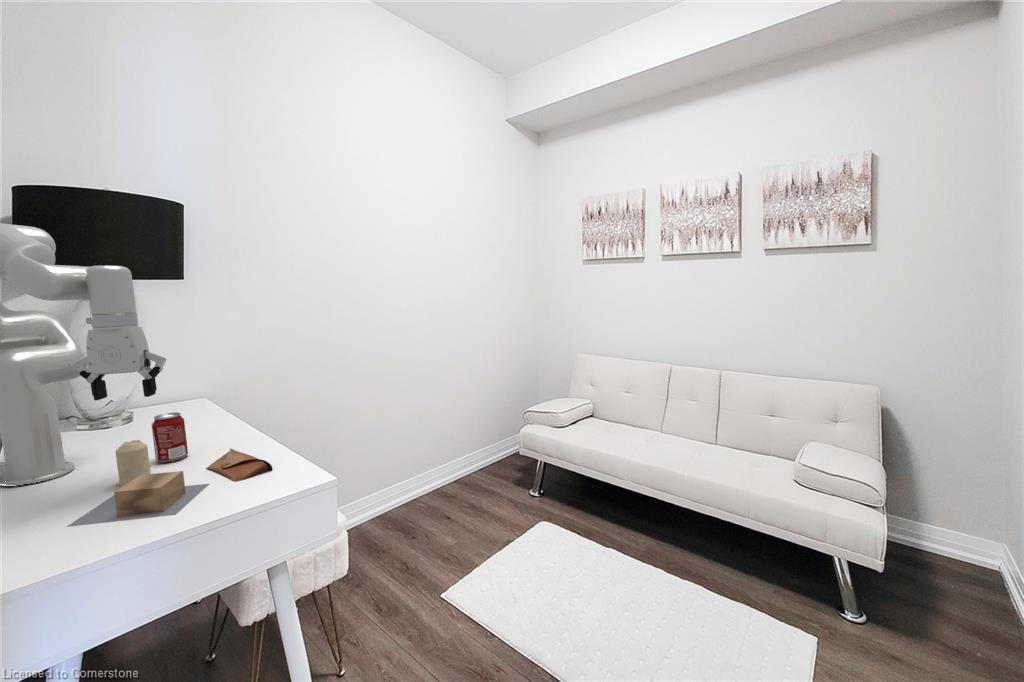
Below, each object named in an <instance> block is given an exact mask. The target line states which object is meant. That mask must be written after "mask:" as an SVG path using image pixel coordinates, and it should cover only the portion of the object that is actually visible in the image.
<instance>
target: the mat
mask: <svg viewBox="0 0 1024 682" xmlns="http://www.w3.org/2000/svg"><path fill="white" fill-rule="evenodd" d="M209 485H210V483H202V484H201V483H200V484H194V485H193V484H192V485H185V492H186V493H185V494H184V495H183V496H182V497H180V498H179V499H178V500H177V501H176V502H175V503H173V504H172V505H171V506H170V507H169V508H167V509H166V510H165V511H163V512H153V513H144V514H135V515H126V516H117V510H116V503H115V495H112V496H110V497H109V498H108V499H106V500H105V501H103V502H101V503H100V504H99V505H97V506H96V507H94V508H92V509H91V510H89V511H88V512H86V513H85V514H84V515H82V516H80V517H79V518H77V519H76V520H75V521H73V522H71V523H70V524H68V525H66V527H77V526H85V525H95V524H96V525H97V524H103V523H104V524H105V523H113V522H120V521H121V522H122V521H123V522H124V521H131V520H133V521H134V520H141V519H149V518H158V517H166V516H168V517H169V516H176V515H177V514H178V513H179V512H181V511H182V510H183V509H184V508H185V507H187V505H188V504H190V502H192V501H193V500H194V499H195V498H196V497H197V496H198V495H200V493H202V491H204V490H205V489H206V488H207V487H208V486H209Z"/></svg>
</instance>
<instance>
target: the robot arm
mask: <svg viewBox="0 0 1024 682" xmlns="http://www.w3.org/2000/svg"><path fill="white" fill-rule="evenodd" d="M55 242H56V241H55V240H54V238H53V237H52V236H51V235H50V234H49V233H48V232H47V231H46V230H44V229H42V228H38V227H36V226H29V225H20V224H19V225H18V224H9V223H2V222H0V279H7V281H8V283H10V285H11V286H12V287H13V288H15V289H16V290H18V291H20V292H22V293H24V294H26V295H28V296H30V297H33V298H35V299H39V300H43V301H49V302H51V301H52V302H53V301H55V302H58V301H59V302H62V301H88V304H89V310H90V317H87V318H86V319H85V323H86V324H87V325H91V327H92V329H88V331H87V336H86V346H85V347H86V352H85V353H86V355H85V354H84V351H83V349H82V348H81V347H80V346H79V344H78V343H77V342H76V340H75V339H74V338H73V337H72V336H73V335H71V334H70V332H69V331H68V330H67V328H66V326H65V325H64V324H63V323H62V322H61V321H60V320H59V318H58V317H56V316H55V315H53V314H51V313H50V312H47V311H43V310H37V309H35V310H34V309H33V310H14V309H13V310H12V309H9V308H8V307H6V306H5V305H4V304H3V302H2V301H1V300H0V439H1V444H2V449H3V450H2V451H3V458H4V461H0V473H1V477H0V484H6V485H21V484H29V483H34V484H37V483H36V482H38V483H42V482H41V481H43V482H45V480H46V481H49V479H50V480H53V479H56V478H58V477H61V476H65V475H66V474H68V472H69V473H70V472H72V471H73V470H74V469H75V464H74V462H71V461H65V460H66V459H65V453H64V447H63V441H62V435H61V434H62V433H61V427H60V421H59V414H58V413H59V412H58V408H57V403H56V401H55V399H54V397H53V396H52V395H51V394H50V393H49V392H47V391H46V390H44V388H43V387H42V386H43V385H44V386H45V385H48V384H55V383H59V382H63V381H64V382H65V381H70V380H74V379H77V378H79V377H82V378H83V379H85V380H86V383H89V384H90V389H91V395H92V396H93V400H94V401H99V400H102V399H106V398H107V397H108V390H107V383H106V381H105V380H104V379H103V378H104V377H105V375H113V374H116V375H117V374H130V373H135V372H137V373H138V374H139V375H141V376H142V377H143V378H144V379H142V381H141V384H142V390H143V397H145V398H149V397H151V396H154V395H156V392H157V382H156V378H158V375H159V374H160V373H161V372H162V370H163V369H164V366H165V364H166V362H167V359H166V357H164V356H161V355H159V354H156V353H152V352H150V349H149V344H148V341H147V337H146V335H145V333H144V330H143V328H142V327H141V326H139V321H138V314H137V305H136V299H135V298H136V297H135V290H134V284H133V276H132V272H131V270H130V269H129V268H128V267H125V266H123V265H92V266H81V265H65V264H64V265H63V264H62V265H60V264H56V255H55V254H56V250H57V247H56V243H55ZM151 361H152V362H154V363H155V364H154V366H153V367H151V366H152V362H151ZM5 481H6V482H5ZM29 485H30V484H29Z"/></svg>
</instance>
